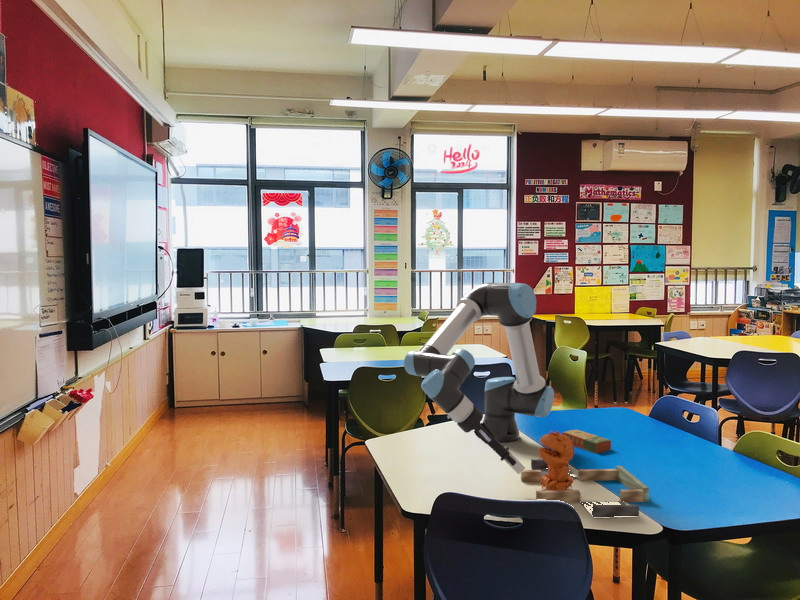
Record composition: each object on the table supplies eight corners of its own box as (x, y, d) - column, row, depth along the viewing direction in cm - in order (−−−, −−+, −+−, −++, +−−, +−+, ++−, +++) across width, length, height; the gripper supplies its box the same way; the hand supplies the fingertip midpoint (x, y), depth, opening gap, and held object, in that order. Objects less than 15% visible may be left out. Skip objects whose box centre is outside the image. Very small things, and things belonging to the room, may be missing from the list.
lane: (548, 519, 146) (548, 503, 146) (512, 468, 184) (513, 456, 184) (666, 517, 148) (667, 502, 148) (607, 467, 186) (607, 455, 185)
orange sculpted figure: (531, 484, 171) (532, 425, 170) (566, 483, 172) (567, 424, 171) (543, 498, 160) (544, 436, 159) (581, 497, 161) (582, 435, 160)
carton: (576, 439, 218) (576, 428, 218) (611, 451, 204) (611, 439, 204) (561, 442, 214) (561, 431, 213) (596, 454, 200) (596, 442, 200)
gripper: (453, 417, 170) (507, 471, 171) (459, 429, 157) (517, 487, 158) (470, 400, 170) (524, 454, 171) (478, 410, 157) (536, 469, 158)
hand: (521, 470), depth 165 cm, fingers closed
